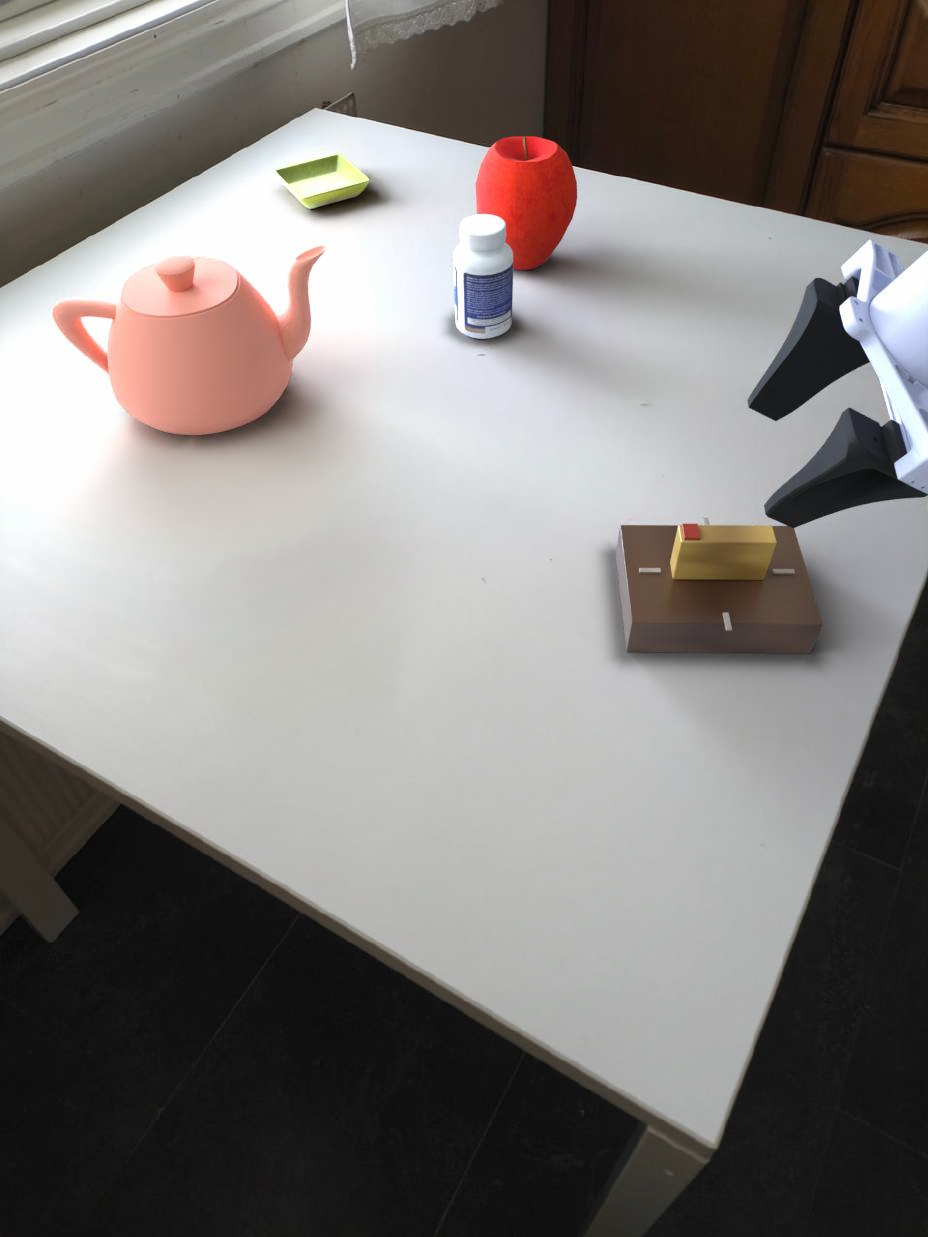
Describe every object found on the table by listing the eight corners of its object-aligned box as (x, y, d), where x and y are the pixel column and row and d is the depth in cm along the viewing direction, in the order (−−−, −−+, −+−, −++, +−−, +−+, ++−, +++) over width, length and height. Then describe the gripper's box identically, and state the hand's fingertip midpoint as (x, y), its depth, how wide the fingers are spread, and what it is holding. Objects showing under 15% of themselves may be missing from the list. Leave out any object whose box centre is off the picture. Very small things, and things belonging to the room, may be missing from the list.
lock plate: (781, 550, 65) (792, 517, 63) (812, 661, 59) (826, 630, 56) (614, 548, 66) (619, 517, 63) (627, 659, 59) (633, 628, 57)
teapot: (335, 331, 85) (316, 201, 76) (355, 428, 76) (336, 292, 66) (96, 362, 83) (46, 231, 73) (85, 466, 73) (26, 331, 64)
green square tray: (302, 217, 100) (299, 198, 99) (274, 187, 106) (271, 168, 104) (373, 198, 103) (371, 179, 102) (342, 170, 108) (340, 152, 107)
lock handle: (759, 563, 60) (773, 522, 57) (764, 580, 59) (778, 539, 56) (669, 562, 60) (678, 521, 58) (672, 579, 59) (681, 539, 57)
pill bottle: (523, 325, 85) (527, 224, 78) (481, 347, 83) (480, 245, 76) (485, 303, 88) (485, 203, 81) (443, 323, 86) (439, 223, 78)
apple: (573, 239, 96) (582, 116, 87) (571, 287, 90) (580, 160, 80) (480, 236, 97) (479, 114, 87) (471, 283, 90) (469, 157, 81)
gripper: (901, 131, 40) (700, 339, 51) (983, 351, 33) (725, 544, 43) (1005, 204, 43) (793, 388, 53) (1104, 424, 35) (833, 590, 46)
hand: (769, 461), depth 48 cm, fingers open, 7 cm apart
